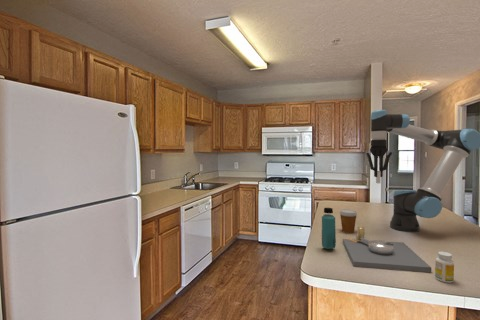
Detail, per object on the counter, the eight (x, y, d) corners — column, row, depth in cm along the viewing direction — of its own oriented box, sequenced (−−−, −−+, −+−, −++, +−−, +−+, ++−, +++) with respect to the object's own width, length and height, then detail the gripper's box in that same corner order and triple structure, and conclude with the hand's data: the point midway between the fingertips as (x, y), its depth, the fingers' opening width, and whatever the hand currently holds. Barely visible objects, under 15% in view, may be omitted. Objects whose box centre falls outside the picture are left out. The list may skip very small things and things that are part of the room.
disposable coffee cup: (358, 234, 147) (358, 213, 146) (340, 233, 149) (340, 212, 148) (354, 229, 156) (355, 209, 156) (338, 228, 158) (338, 208, 158)
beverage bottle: (334, 253, 121) (334, 210, 120) (319, 250, 124) (319, 208, 124) (337, 248, 126) (337, 207, 126) (323, 246, 130) (323, 206, 129)
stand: (403, 246, 128) (403, 241, 128) (431, 272, 101) (431, 266, 101) (342, 242, 134) (342, 238, 134) (353, 266, 107) (353, 260, 107)
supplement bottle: (434, 279, 95) (434, 253, 95) (436, 274, 99) (436, 249, 99) (453, 284, 92) (453, 257, 91) (454, 279, 96) (454, 253, 95)
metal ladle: (399, 253, 114) (399, 237, 114) (381, 256, 111) (381, 239, 111) (365, 239, 132) (365, 225, 132) (349, 241, 129) (349, 227, 129)
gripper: (389, 139, 143) (389, 182, 144) (363, 139, 146) (363, 182, 147) (394, 138, 135) (394, 184, 136) (367, 139, 138) (366, 183, 139)
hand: (378, 183), depth 141 cm, fingers closed
